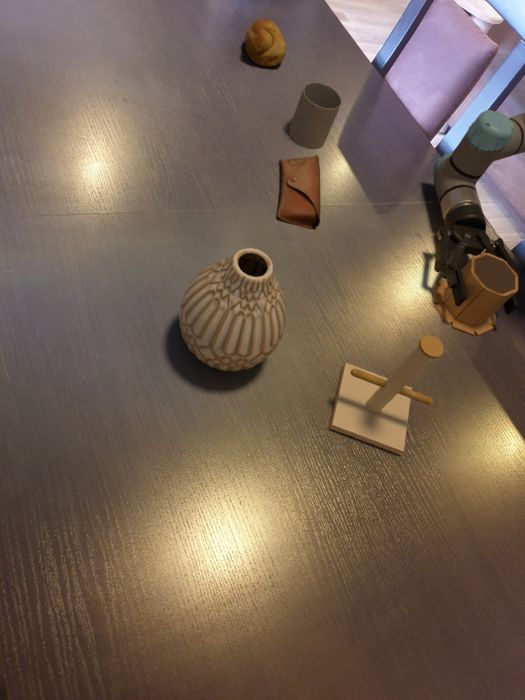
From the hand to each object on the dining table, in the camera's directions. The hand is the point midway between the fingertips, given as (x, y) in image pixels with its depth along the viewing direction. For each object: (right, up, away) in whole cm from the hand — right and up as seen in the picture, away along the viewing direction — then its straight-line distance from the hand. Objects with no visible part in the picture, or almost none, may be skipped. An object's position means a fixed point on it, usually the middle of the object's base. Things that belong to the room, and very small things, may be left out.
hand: (487, 306), depth 102 cm
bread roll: (-41, +63, +34) cm, 82 cm away
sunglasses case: (-34, +23, +12) cm, 43 cm away
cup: (-31, +39, +22) cm, 54 cm away
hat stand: (-23, -18, -11) cm, 31 cm away
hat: (-2, +1, +7) cm, 7 cm away
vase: (-47, -7, -11) cm, 49 cm away
